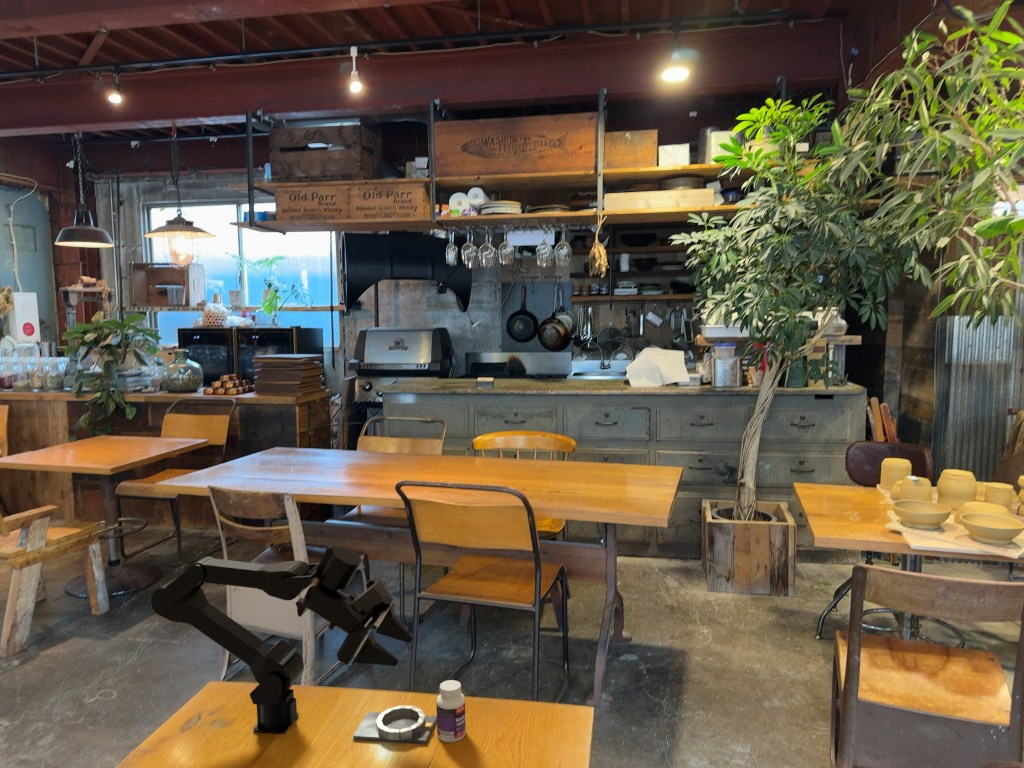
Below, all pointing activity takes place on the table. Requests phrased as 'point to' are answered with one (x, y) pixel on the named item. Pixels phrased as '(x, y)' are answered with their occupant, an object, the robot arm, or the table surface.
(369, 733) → the plate
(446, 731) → the pill bottle
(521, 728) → the table surface
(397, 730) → the collar
